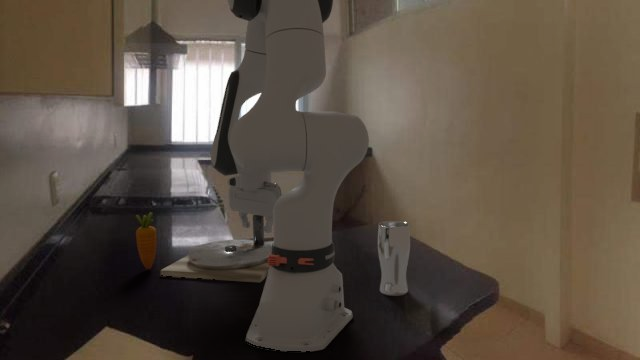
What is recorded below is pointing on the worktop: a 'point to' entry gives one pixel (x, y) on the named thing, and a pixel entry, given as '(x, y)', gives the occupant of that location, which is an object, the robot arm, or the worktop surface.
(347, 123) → the robot arm
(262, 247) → the dial
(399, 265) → the beer glass
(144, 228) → the carrot
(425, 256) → the worktop surface
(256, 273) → the dial base
